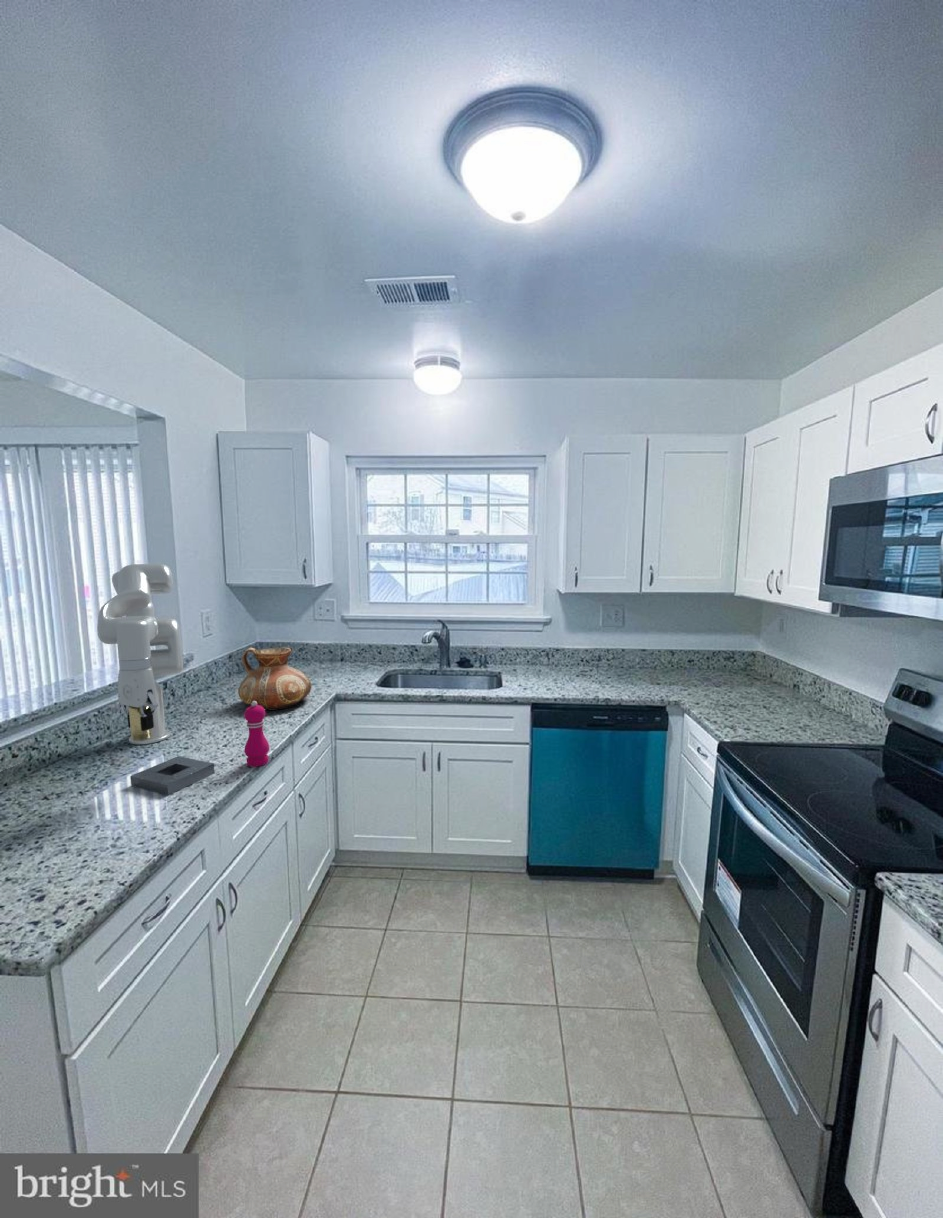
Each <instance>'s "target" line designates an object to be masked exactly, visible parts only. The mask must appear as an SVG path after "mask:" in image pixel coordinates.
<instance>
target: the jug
mask: <svg viewBox="0 0 943 1218" xmlns="http://www.w3.org/2000/svg"><path fill="white" fill-rule="evenodd" d="M248 653H252V654H253V656H254V657H255V658H256V661H257V662H258V667H257V668H255V669H254V668H252V667H251V666H250V663H249V661H248V658H247V656H248ZM291 653H292V649H291V648H289V647H273V648H272V647H271V648H263V649H256V648H255V647H249V648H246V650H245V651H244V652H243V654H242V658H241V661H242V665H243V667H244V669H245V671H246V673H247V674H246V676H245V677H244V679H242V681H241V682H240V685H239V687H238V690H237V691H238V692H237V694H238V697H239V700H241V701H242V702H243V703H244V704H246V705H248V706H249V707H250V706H252V705H251V703H252V702H253V701H256V702H257V705H259V706H262V707H263V708H264V709H268V710H267V711H270V710H269V709H278V710H281V709H280V708H283V709H286V707H287V708H290V707H292V706H295V705H296V704H297V703H299V702H301V701H302V700H304V699H305V698H306V697H307V696H308V695H309V694H310V692H311V690H312V682H311V680H310V678H309V677H308V676H307V675H306V674H305V673H304V672H303V671H302V670H300V669H298V668H294V667H292V666H290V665H289V664H288V661H289V660H288V659H289V657H290V655H291ZM289 706H290V707H289Z"/></svg>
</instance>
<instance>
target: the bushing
mask: <svg viewBox="0 0 943 1218" xmlns="http://www.w3.org/2000/svg"><path fill="white" fill-rule="evenodd" d="M145 705H146V704H145ZM144 708H145V711H146V709H147V708H148V706H147V707H144ZM129 717H130V728H131V731H130V737H131V739H132V740H134V741H139V740H145V739H148V738H150V737H151V736H152V732H151V729H148V730H145V731H142V730H141V721H140V717H142V715H141V711H140V708H137V707H131V706H130V707H129Z"/></svg>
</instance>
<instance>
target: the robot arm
mask: <svg viewBox="0 0 943 1218" xmlns="http://www.w3.org/2000/svg"><path fill="white" fill-rule="evenodd" d="M111 582H112V586H113V588H114V591H115V593H116V595H114V596H113V597H111V598H110V599H109V600H107V601H106V602H105V603H104V604H103V605H102V606H101V608H100V609H99V611H98V616H97V618H98V619H97V631H96V633H97V636H98V639H99V640H100V641H101V643H103V644H106V645H116V647H117V655H118V667H119V669H118V673H117V674H118V676H117V697H118V698H117V699H118V700H117V701H118V703H119V704H120V705H123V708H125V713H126V715H127V726H128V729H129V731H130V732H131V728H130V717H129V707H130V706H131V707H137V708H140V711H141V715H142V717H140V721H141V730H142V731H145V730H148V729H151V732H152V736H151V737H150V738H148V739H145V740H139V741H134V740H132V739H131V736H130V737H129V738H128V742H129V743H130V744H132V745H148V744H153V743H158V742H161V741H164V740H166V739H168V738H169V737H170V736H171V734H172V733H171V730H169V729H168V728H167V729H166V722H165V721H166V720H165V710H164V709H165V708H164V695H163V688H162V686H161V685H160V683H159V682H157V680H155V678H157V677H166V676H171V675H173V676H174V675H178V674H180V673H181V672H182V671H183V668H184V656H183V645H182V644H183V643H182V635H181V628H180V624H179V621H177V620H176V619H174V618H172V617H171V618H170V617H164V618H163V617H162V618H156V616H155V606H154V604H153V602H152V595H160V594H161V595H163V594H170V593H171V592H172V590H173V588H174V576H173V573H172V570H171V568H170V567H169V565H166V564H163V563H134V564H128V565H125V566H123V567H122V568H121V569H120V570H119V571H116V572H115V573H113V574H112V576H111ZM155 646H156V647H159V646H166V647H167V648H161V649H160V648H159V649H151V647H155ZM145 704H146V705H145ZM147 706H148V708H147V709H146V711H145V708H144V707H147Z"/></svg>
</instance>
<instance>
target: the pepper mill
mask: <svg viewBox="0 0 943 1218" xmlns="http://www.w3.org/2000/svg"><path fill="white" fill-rule="evenodd" d="M251 705H252V706H250V705H249V707H247V708H246V709H245V710H244V714H243V716H244V719H245V720H246V727H247V728H248V738H247V741H246V743H245V745H244V751H243V752H244V755H245V756H246V757H247V758H246V765H247V767H250V768H251V767H252V768H253V767H254V768H255V767H261V766H263V765H267V763H268V762H269V755H268V753H269V751H270V745H269V742H268V740H267V738H266V736H265V734H264V728H263V727H264V726H265V720H264V718H265V717H266V710H264V708H263V707H262V706H259V705H257V702H256V701H253V702H252V703H251Z"/></svg>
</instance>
